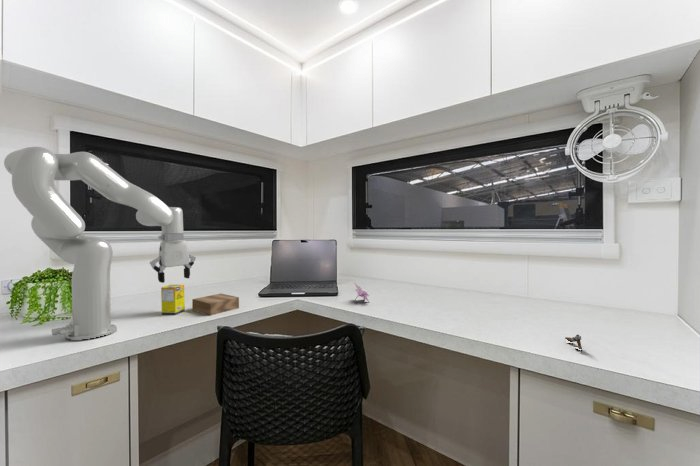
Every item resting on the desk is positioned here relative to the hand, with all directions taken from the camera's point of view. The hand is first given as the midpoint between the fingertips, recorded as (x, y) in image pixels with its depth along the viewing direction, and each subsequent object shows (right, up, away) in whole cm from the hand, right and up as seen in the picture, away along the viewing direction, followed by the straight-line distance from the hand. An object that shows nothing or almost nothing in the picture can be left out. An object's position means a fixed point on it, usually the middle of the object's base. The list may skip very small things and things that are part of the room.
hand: (174, 280), depth 124 cm
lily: (+76, -13, +18) cm, 79 cm away
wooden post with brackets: (+137, -15, -35) cm, 142 cm away
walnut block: (+14, -13, +5) cm, 20 cm away
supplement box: (0, -13, 0) cm, 13 cm away
